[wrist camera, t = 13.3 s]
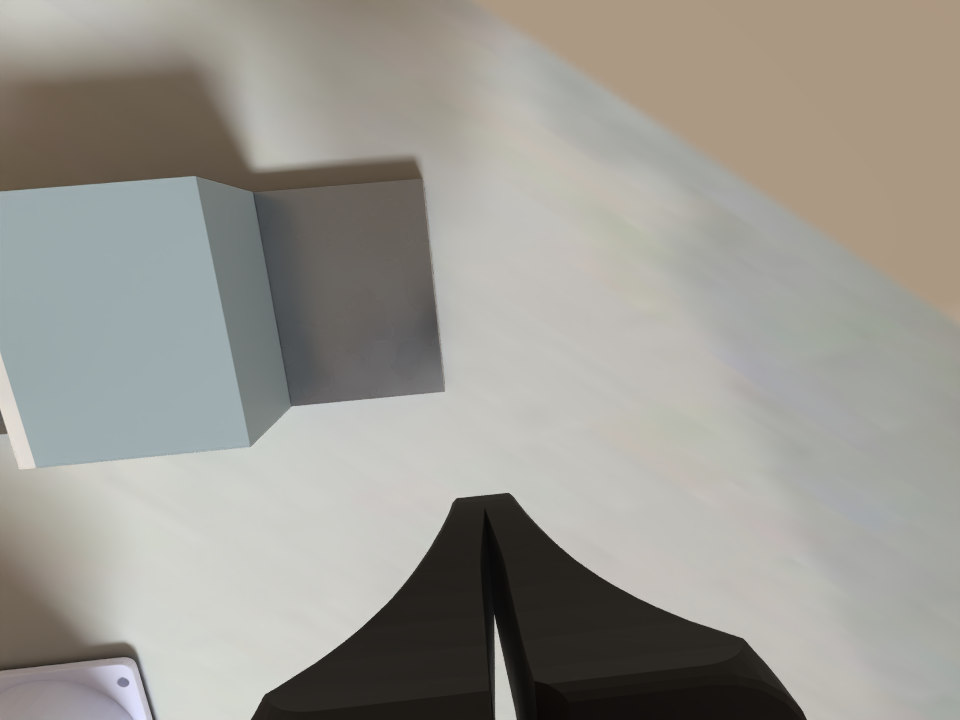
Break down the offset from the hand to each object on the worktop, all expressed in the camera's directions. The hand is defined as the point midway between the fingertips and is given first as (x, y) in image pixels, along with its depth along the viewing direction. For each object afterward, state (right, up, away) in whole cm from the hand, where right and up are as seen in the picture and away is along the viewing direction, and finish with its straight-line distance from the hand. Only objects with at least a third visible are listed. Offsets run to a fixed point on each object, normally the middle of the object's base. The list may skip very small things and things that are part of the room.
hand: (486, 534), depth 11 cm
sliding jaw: (-11, +6, +8) cm, 15 cm away
